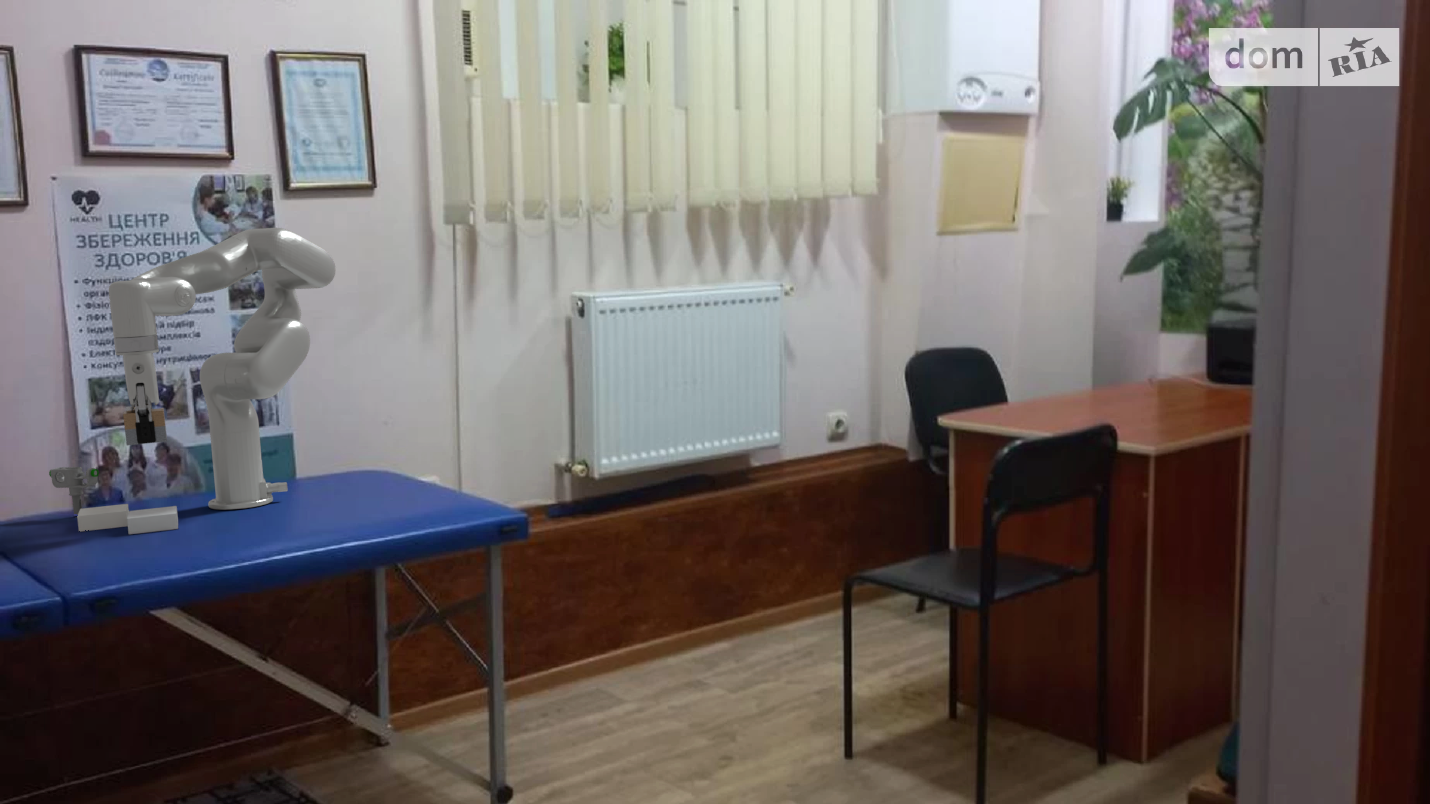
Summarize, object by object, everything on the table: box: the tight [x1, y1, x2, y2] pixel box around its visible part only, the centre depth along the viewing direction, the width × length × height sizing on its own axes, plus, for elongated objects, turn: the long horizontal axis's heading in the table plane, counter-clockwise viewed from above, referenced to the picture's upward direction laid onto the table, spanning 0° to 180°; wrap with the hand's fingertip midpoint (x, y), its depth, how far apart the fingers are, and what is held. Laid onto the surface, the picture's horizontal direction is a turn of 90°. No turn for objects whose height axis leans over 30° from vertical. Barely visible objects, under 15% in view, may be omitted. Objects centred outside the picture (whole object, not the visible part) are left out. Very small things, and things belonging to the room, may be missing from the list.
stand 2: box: [127, 505, 179, 535], centre depth 247 cm, size 9×9×3 cm
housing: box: [122, 405, 168, 446], centre depth 245 cm, size 7×4×7 cm, turn 113°
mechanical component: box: [48, 466, 100, 515], centre depth 261 cm, size 3×10×10 cm, turn 79°
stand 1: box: [76, 503, 130, 532], centre depth 251 cm, size 9×9×3 cm
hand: (147, 440), depth 245 cm, fingers closed on housing, 4 cm apart
